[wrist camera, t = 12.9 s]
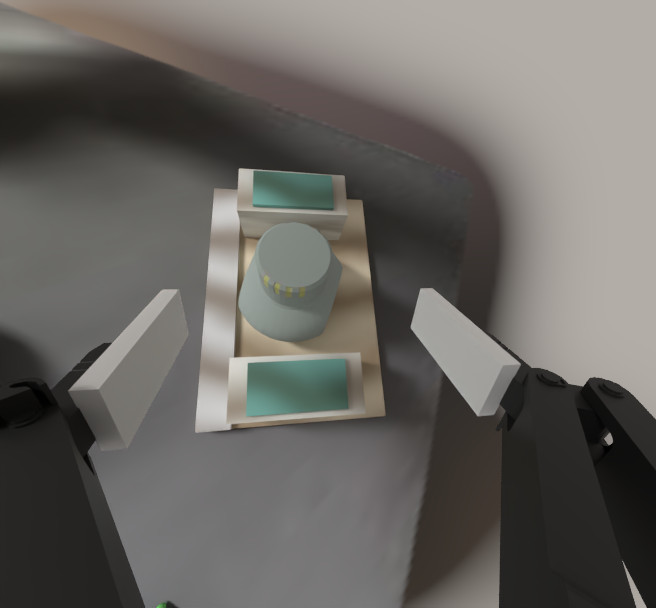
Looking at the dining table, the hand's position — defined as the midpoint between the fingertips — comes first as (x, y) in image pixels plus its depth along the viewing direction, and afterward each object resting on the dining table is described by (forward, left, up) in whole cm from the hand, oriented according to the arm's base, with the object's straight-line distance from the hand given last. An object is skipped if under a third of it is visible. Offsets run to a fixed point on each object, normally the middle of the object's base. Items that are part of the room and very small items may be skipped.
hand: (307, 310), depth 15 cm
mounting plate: (-5, 0, -14) cm, 16 cm away
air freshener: (-5, 0, -14) cm, 15 cm away
